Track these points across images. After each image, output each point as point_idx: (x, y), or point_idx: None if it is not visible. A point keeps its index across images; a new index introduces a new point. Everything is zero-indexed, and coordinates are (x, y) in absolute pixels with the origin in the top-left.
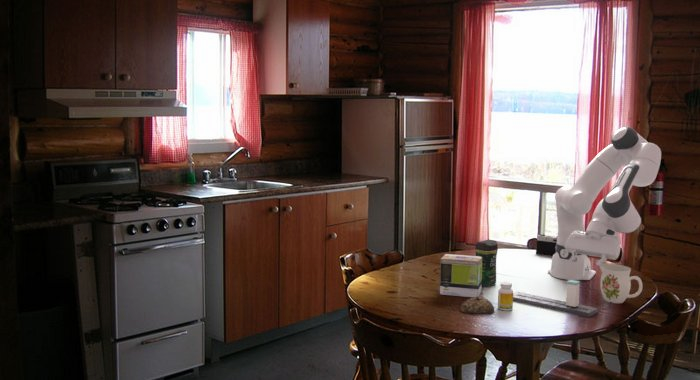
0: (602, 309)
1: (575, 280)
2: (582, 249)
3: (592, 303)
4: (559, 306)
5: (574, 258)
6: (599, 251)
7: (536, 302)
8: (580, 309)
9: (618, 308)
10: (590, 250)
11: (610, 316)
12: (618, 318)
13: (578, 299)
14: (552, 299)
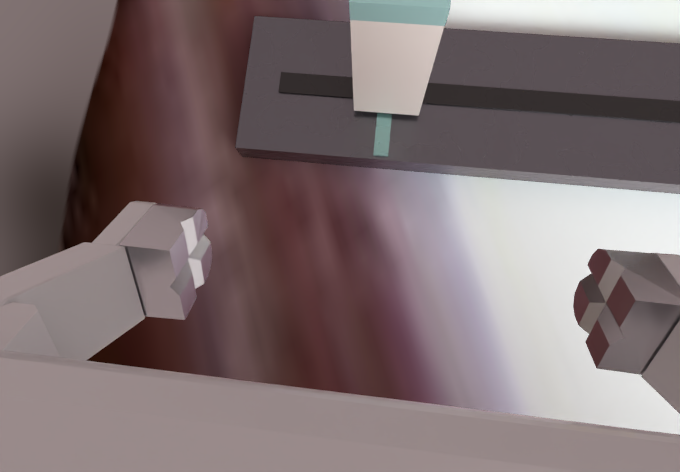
0: (232, 239)
1: (396, 4)
2: (637, 438)
3: (324, 340)
4: (451, 36)
5: (638, 269)
6: (18, 371)
7: (611, 40)
8: (320, 55)
9: (149, 328)
10: (338, 404)
11: (158, 124)
12: (111, 114)
13: (353, 89)
14: (555, 162)
